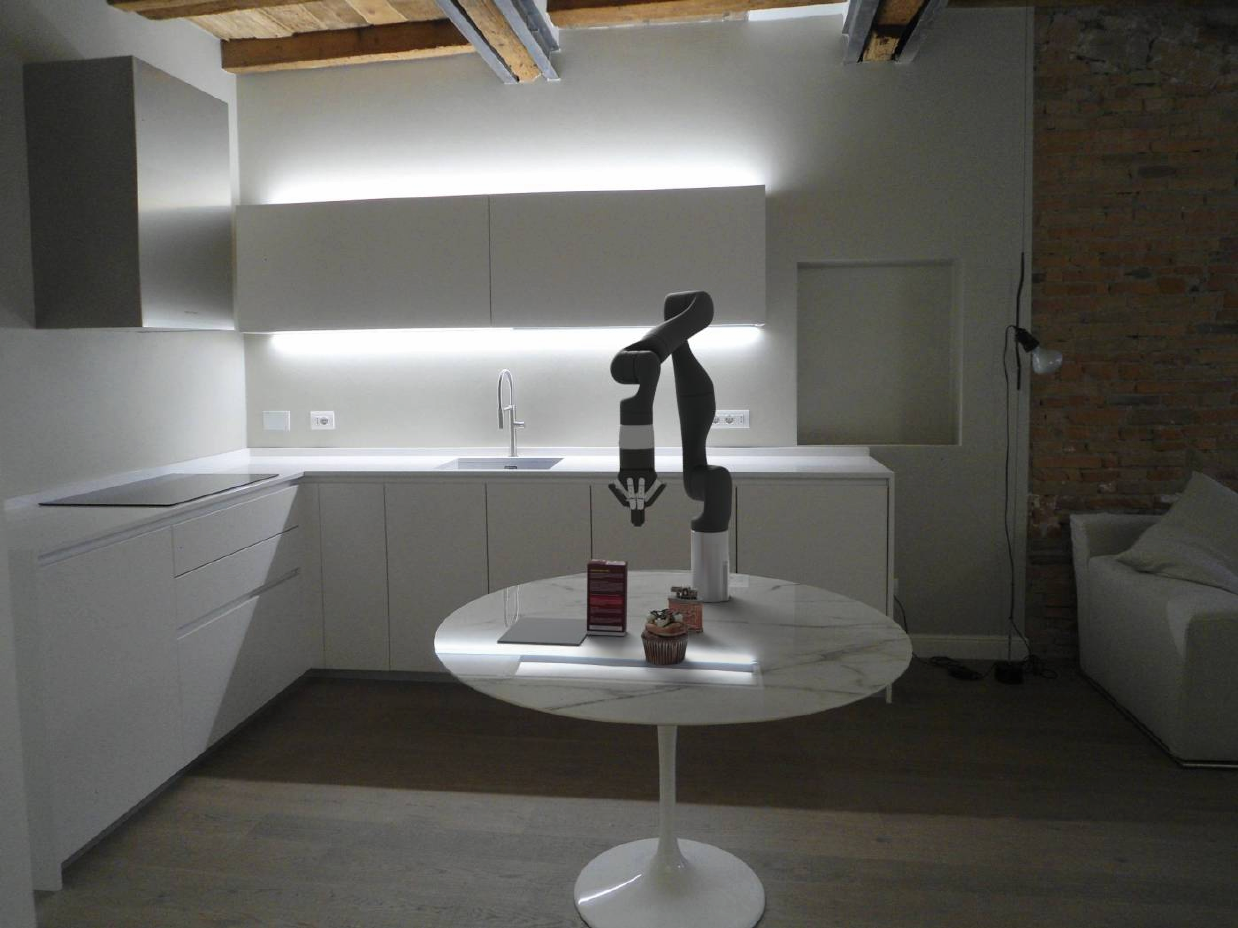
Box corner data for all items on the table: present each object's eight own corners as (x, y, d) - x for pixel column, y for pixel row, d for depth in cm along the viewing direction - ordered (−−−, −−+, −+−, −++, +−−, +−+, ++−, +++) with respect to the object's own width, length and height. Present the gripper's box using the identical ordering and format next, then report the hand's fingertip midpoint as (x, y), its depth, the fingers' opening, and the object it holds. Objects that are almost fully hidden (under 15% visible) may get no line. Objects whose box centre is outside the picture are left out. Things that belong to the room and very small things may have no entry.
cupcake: (699, 658, 187) (698, 609, 186) (664, 670, 181) (663, 619, 179) (665, 647, 194) (665, 600, 193) (631, 658, 188) (630, 610, 187)
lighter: (705, 630, 205) (705, 586, 204) (700, 634, 202) (699, 589, 201) (671, 626, 209) (670, 583, 208) (665, 630, 206) (665, 586, 205)
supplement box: (626, 630, 207) (628, 560, 205) (624, 636, 202) (626, 565, 200) (588, 628, 208) (589, 558, 206) (585, 634, 203) (586, 563, 201)
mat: (596, 621, 214) (596, 619, 214) (579, 645, 197) (579, 643, 197) (521, 618, 218) (521, 616, 217) (497, 642, 200) (497, 640, 200)
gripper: (670, 443, 201) (670, 523, 203) (609, 443, 203) (611, 522, 205) (665, 447, 194) (666, 529, 196) (602, 447, 196) (604, 528, 198)
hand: (638, 525), depth 201 cm, fingers closed
